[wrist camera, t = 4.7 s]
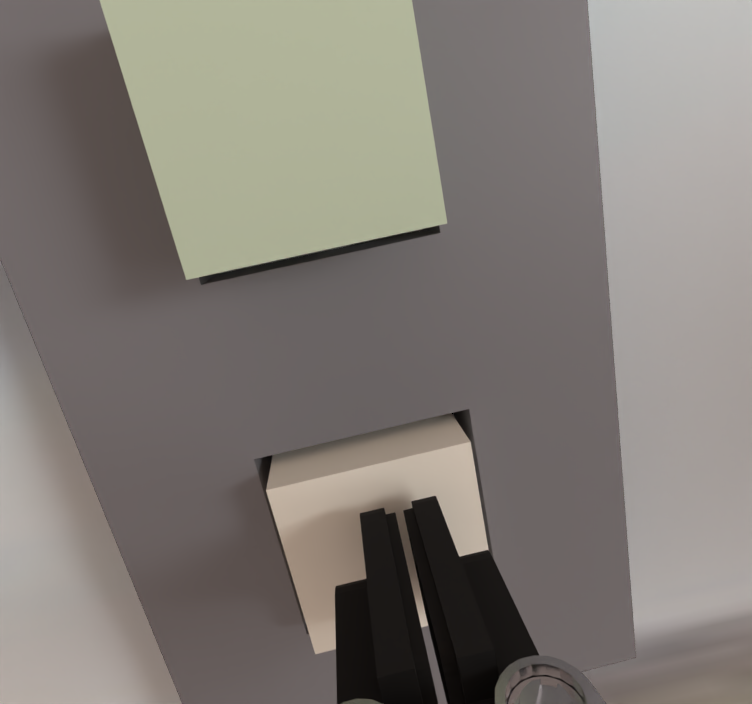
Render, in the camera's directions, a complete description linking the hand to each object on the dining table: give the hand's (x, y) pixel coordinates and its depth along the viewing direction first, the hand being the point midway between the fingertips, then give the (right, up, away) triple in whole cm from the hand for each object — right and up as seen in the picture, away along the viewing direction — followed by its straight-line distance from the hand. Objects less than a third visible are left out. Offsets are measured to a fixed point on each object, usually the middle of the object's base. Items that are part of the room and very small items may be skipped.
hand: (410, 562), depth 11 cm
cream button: (-1, +1, +3) cm, 3 cm away
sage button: (-2, +9, -1) cm, 9 cm away
